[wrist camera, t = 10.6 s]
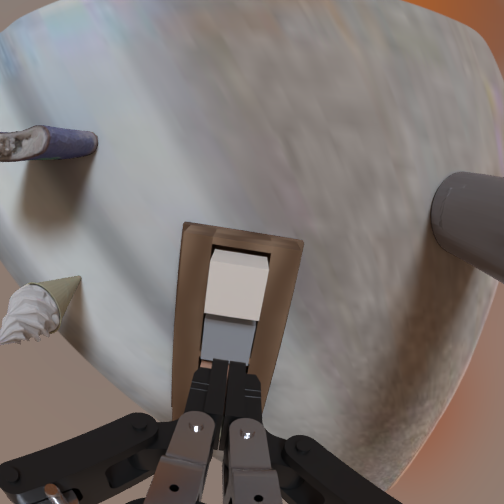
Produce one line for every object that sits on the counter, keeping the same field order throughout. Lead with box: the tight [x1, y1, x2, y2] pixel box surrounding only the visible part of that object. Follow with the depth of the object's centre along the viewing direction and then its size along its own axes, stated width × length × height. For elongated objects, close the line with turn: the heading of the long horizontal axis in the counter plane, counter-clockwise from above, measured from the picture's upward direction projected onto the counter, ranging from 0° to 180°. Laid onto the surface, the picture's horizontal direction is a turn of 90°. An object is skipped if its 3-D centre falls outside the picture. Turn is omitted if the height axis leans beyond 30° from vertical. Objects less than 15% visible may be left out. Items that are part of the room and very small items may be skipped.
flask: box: [0, 125, 98, 162], centre depth 21 cm, size 9×3×11 cm, turn 83°
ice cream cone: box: [0, 276, 81, 345], centre depth 23 cm, size 5×5×15 cm
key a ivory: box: [204, 249, 269, 321], centre depth 24 cm, size 4×4×3 cm
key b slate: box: [201, 313, 256, 366], centre depth 27 cm, size 4×4×3 cm
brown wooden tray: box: [171, 222, 304, 421], centre depth 30 cm, size 11×23×4 cm, turn 171°
